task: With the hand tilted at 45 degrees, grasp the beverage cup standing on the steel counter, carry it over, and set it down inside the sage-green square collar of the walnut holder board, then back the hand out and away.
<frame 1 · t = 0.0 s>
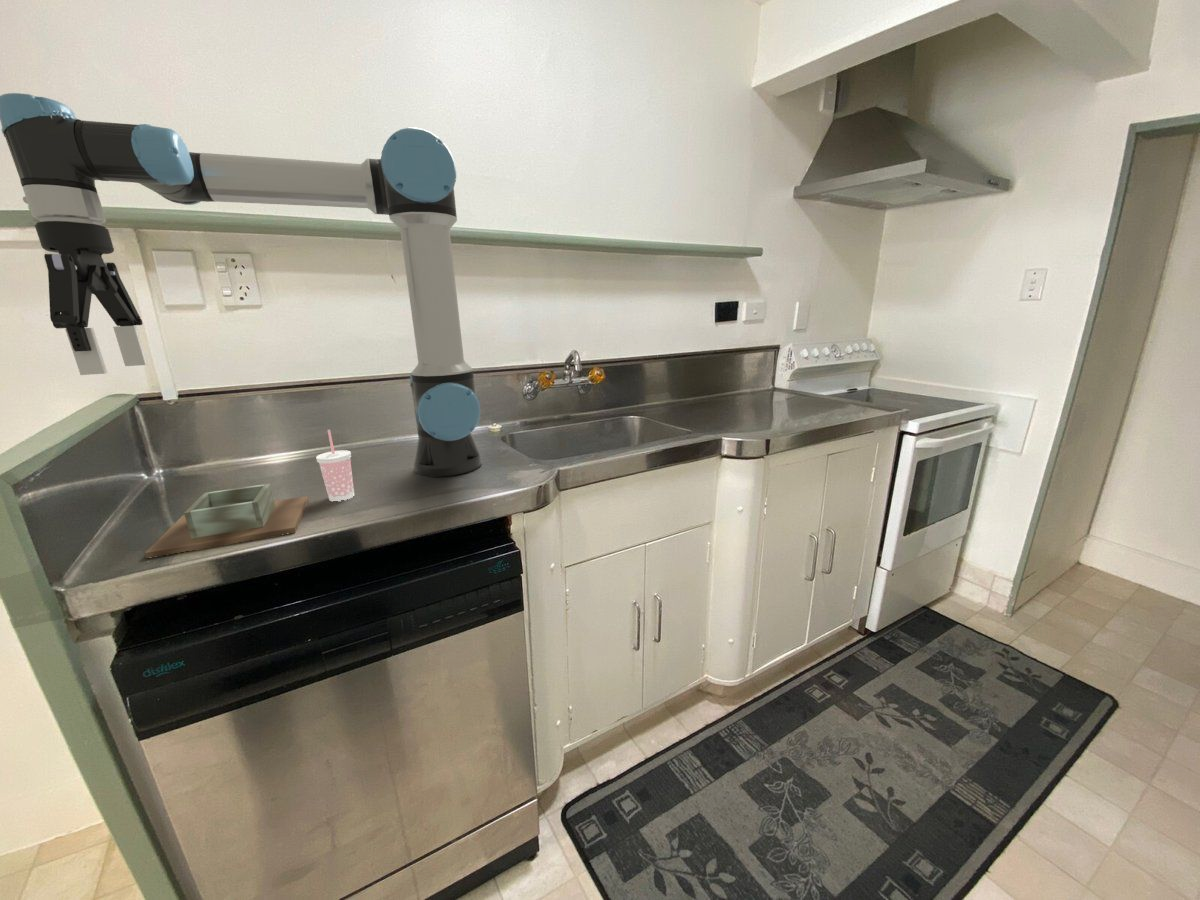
hand: (117, 369, 77), 28 cm above the counter, tool pointing down, fingers open, 13 cm apart
beverage cup: (342, 498, 98), on the counter
cup holder: (237, 526, 86), on the counter
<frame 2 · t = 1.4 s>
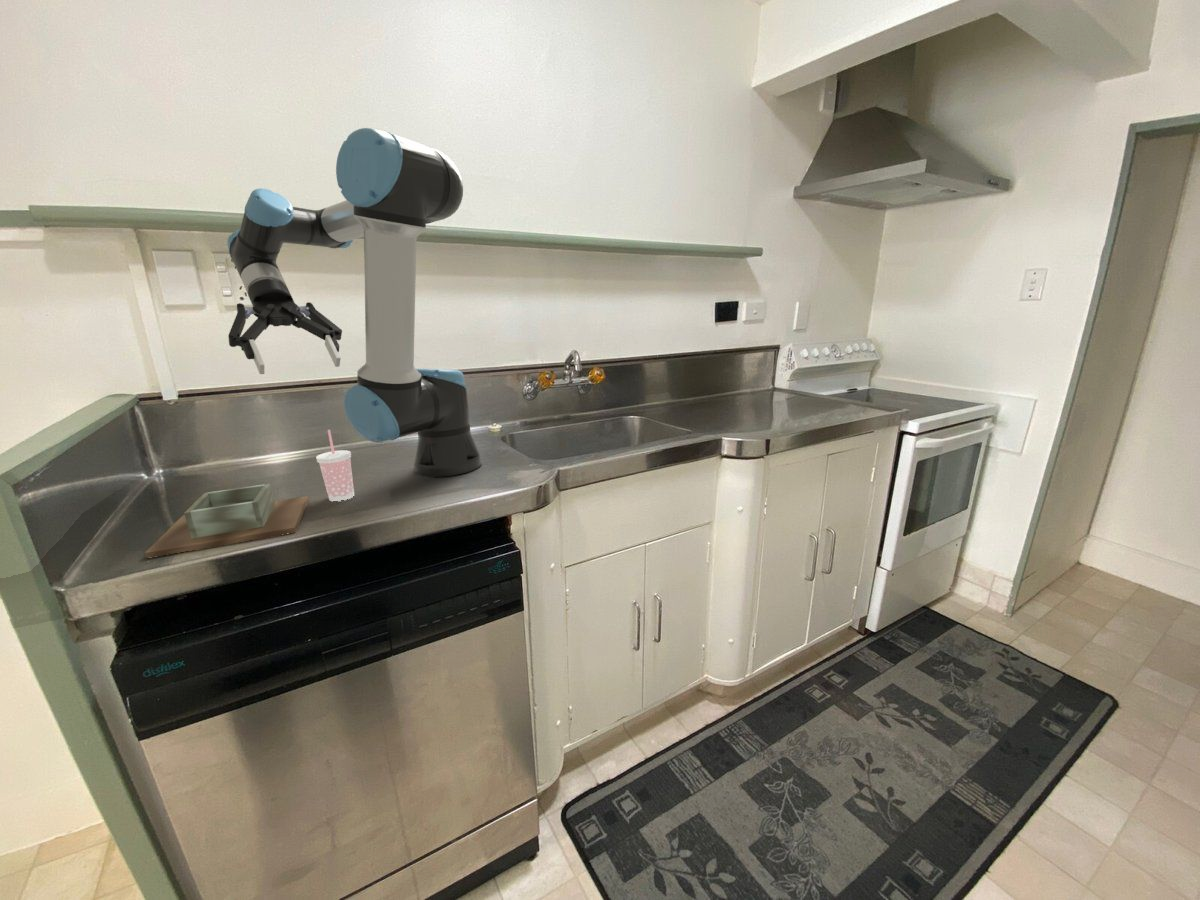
hand: (301, 366, 98), 26 cm above the counter, tool tilted 45°, fingers open, 13 cm apart
nothing on the counter moved.
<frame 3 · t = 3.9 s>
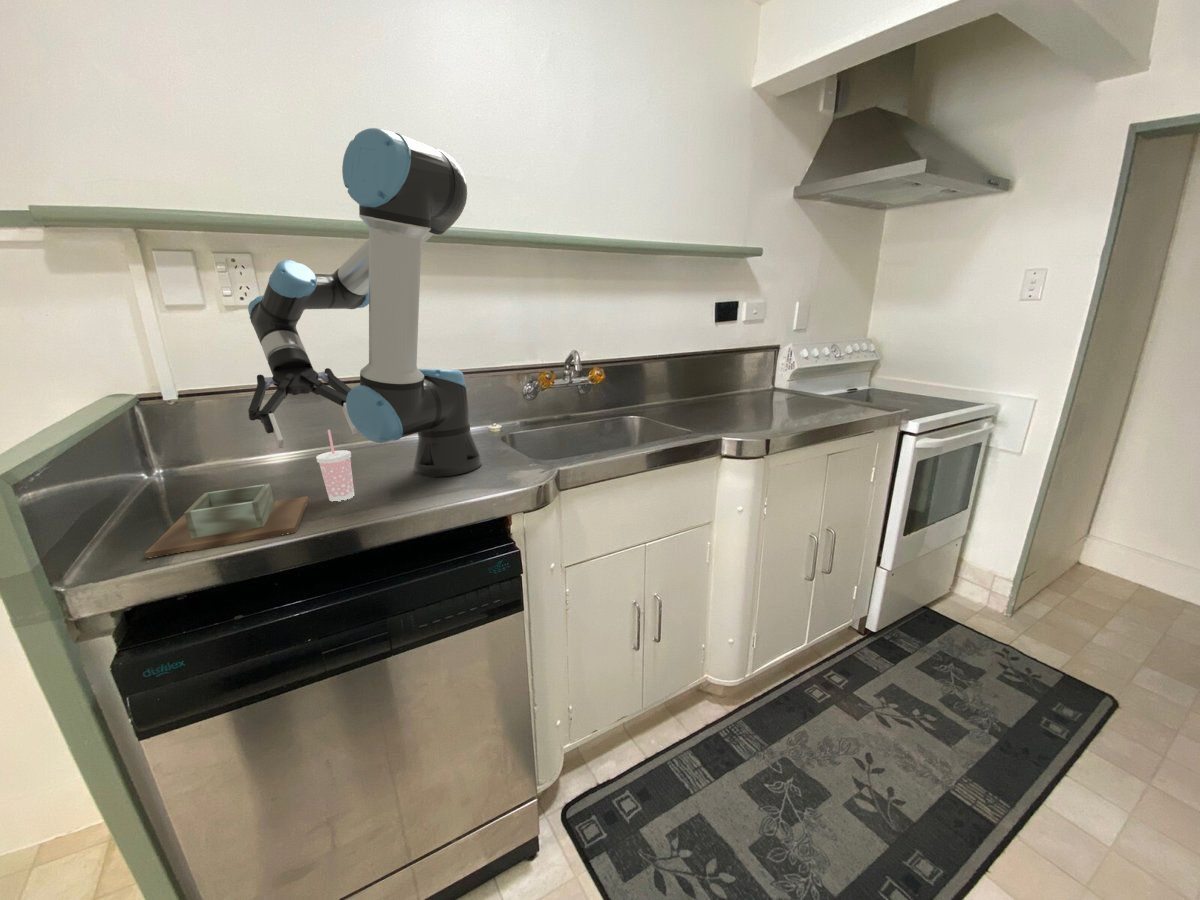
hand: (320, 437, 98), 12 cm above the counter, tool tilted 45°, fingers open, 13 cm apart
nothing on the counter moved.
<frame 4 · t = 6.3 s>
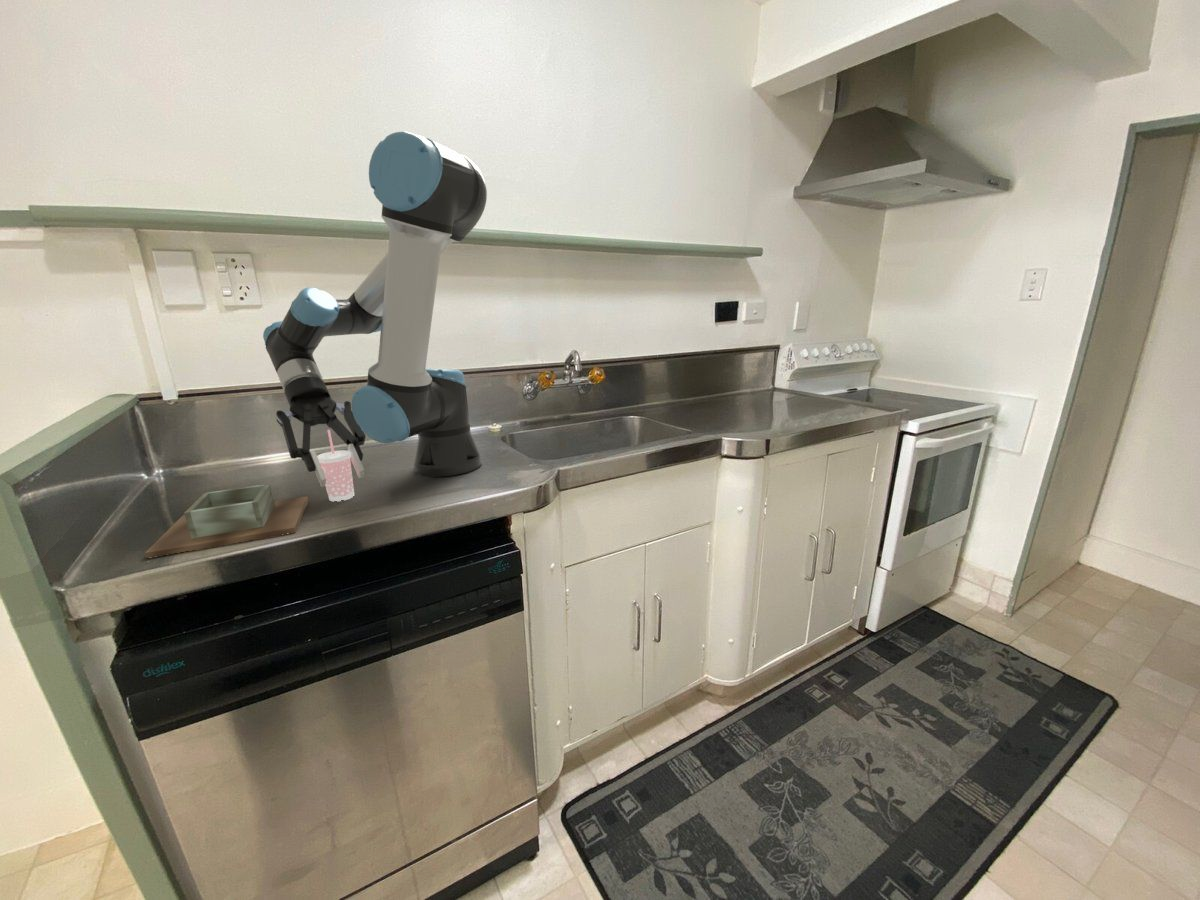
hand: (342, 478, 94), 5 cm above the counter, tool tilted 45°, fingers closed on beverage cup, 6 cm apart
beverage cup: (342, 498, 98), on the counter, touching gripper
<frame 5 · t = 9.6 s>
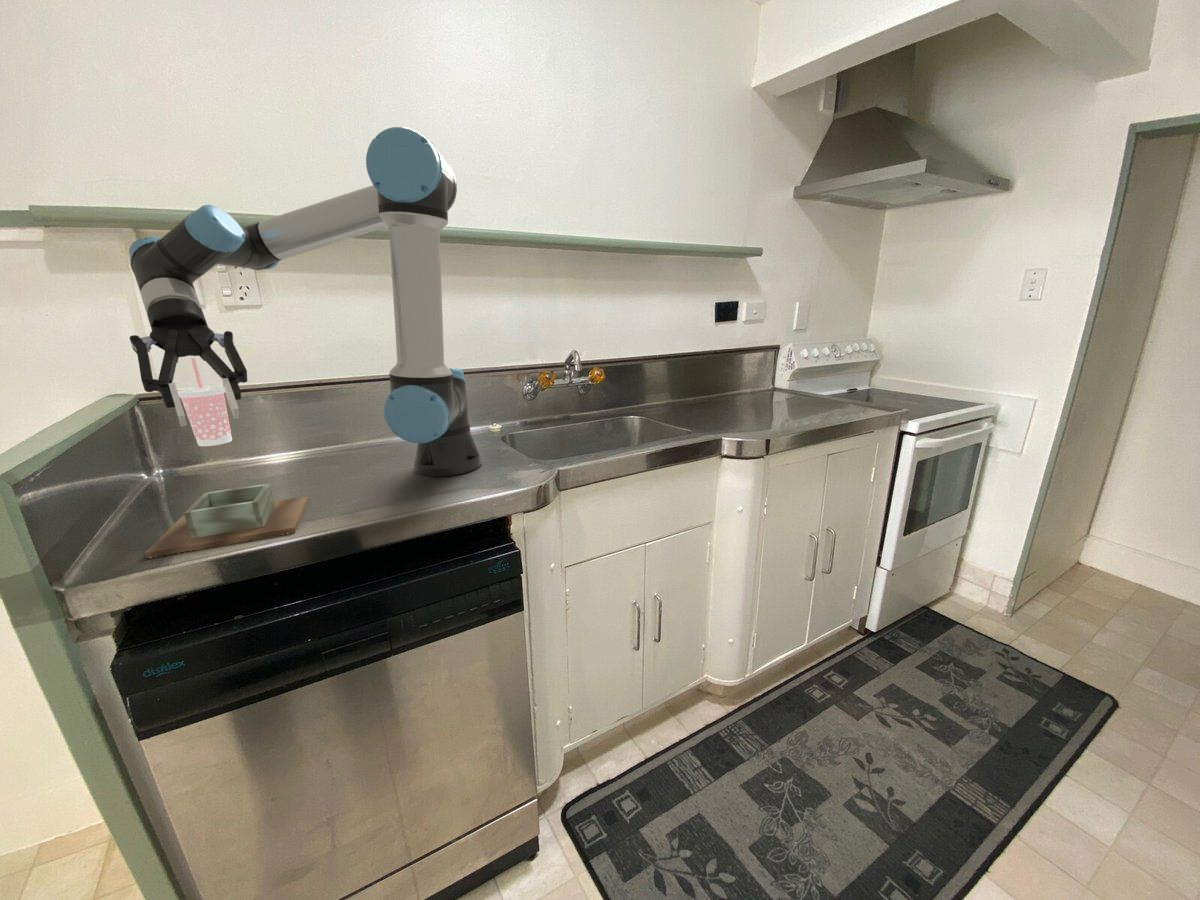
hand: (210, 417, 78), 20 cm above the counter, tool tilted 45°, fingers closed on beverage cup, 6 cm apart
beverage cup: (215, 443, 82), point 15 cm above the counter, touching gripper
when the fingers open (7 cm above the counter, at t = 12.8 s): beverage cup drops 1 cm, resting on cup holder.
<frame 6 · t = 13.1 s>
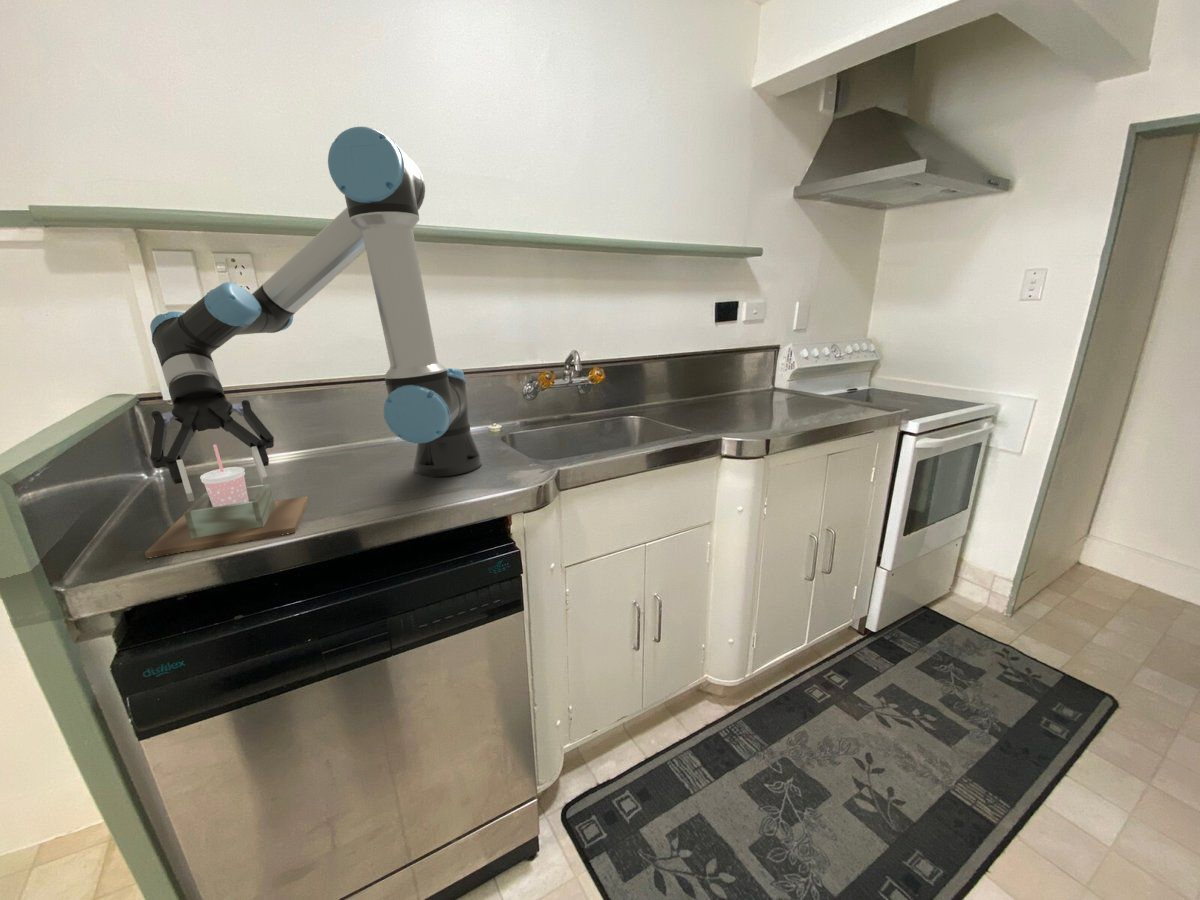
hand: (229, 488, 81), 8 cm above the counter, tool tilted 45°, fingers open, 9 cm apart
beverage cup: (236, 521, 86), point 1 cm above the counter, touching cup holder
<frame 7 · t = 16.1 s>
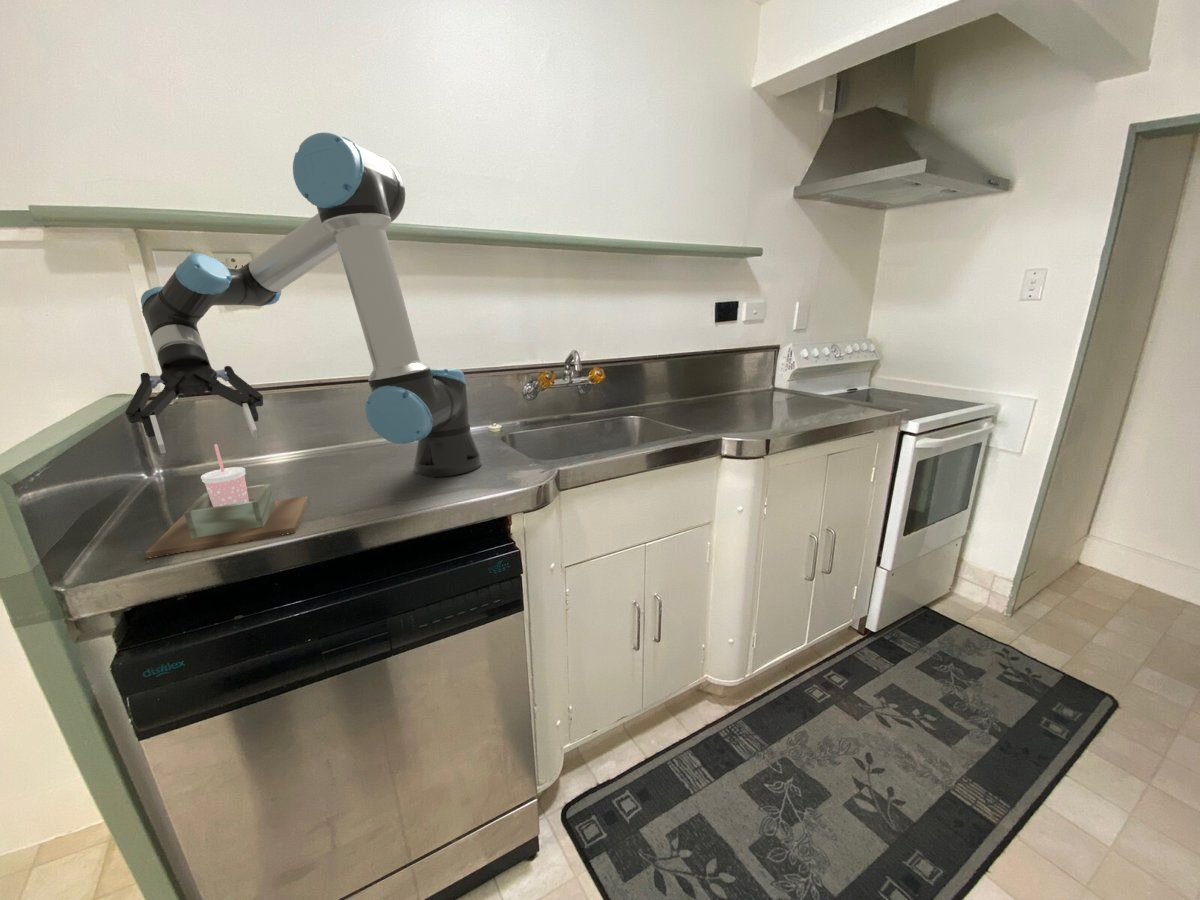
hand: (211, 441, 89), 14 cm above the counter, tool tilted 45°, fingers open, 13 cm apart
nothing on the counter moved.
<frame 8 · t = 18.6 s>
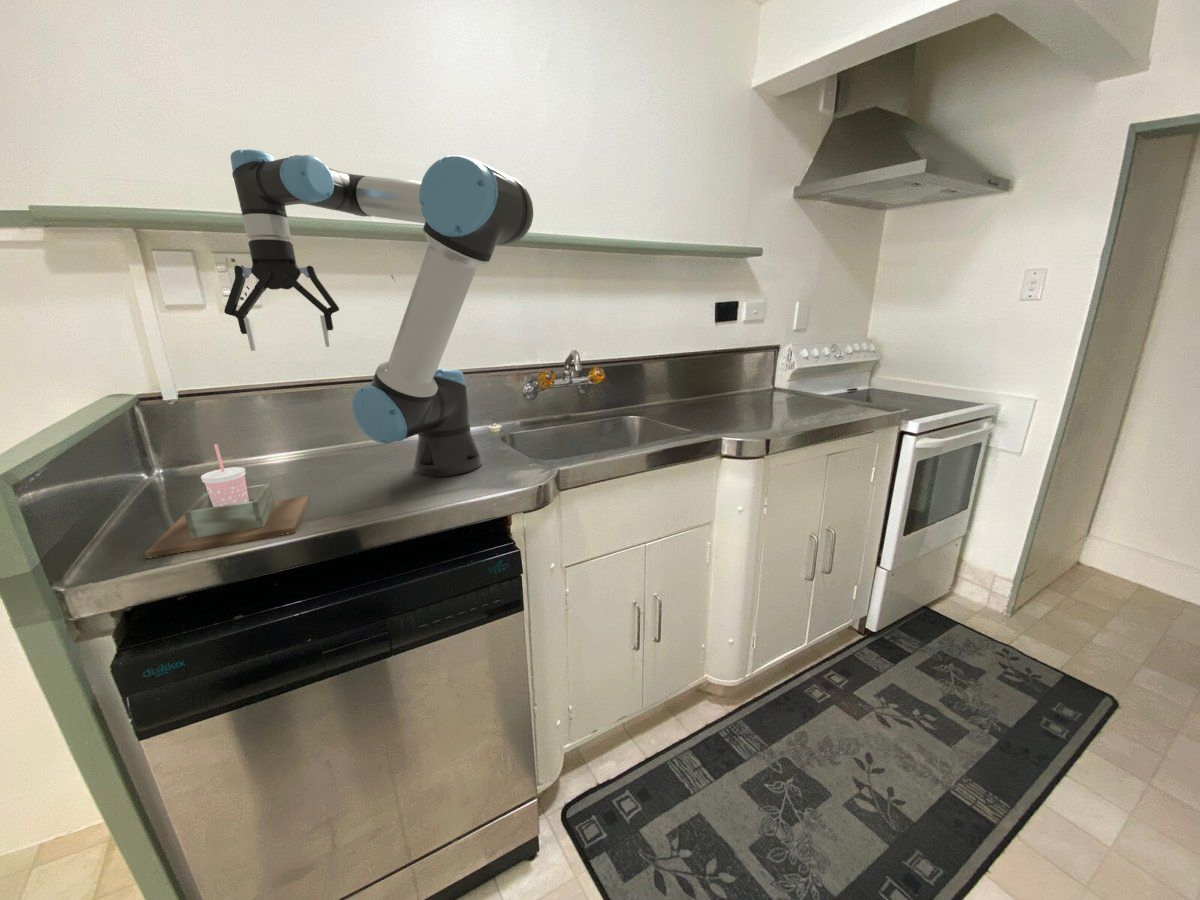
hand: (292, 348, 103), 29 cm above the counter, tool pointing down, fingers open, 13 cm apart
nothing on the counter moved.
at the end: beverage cup 0.1 cm off-centre on the cup holder, point 0.8 cm above the cup holder's base; beverage cup tilted 0°; the gripper is holding nothing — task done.
